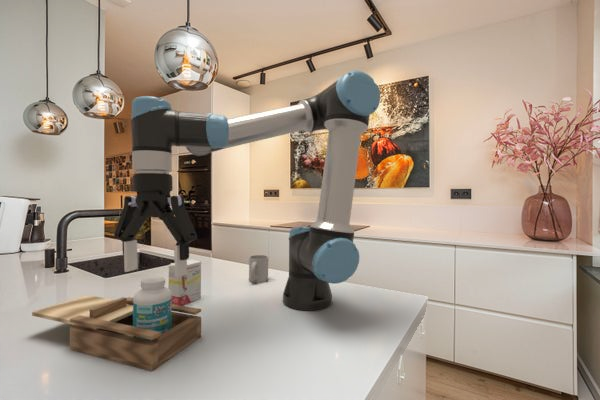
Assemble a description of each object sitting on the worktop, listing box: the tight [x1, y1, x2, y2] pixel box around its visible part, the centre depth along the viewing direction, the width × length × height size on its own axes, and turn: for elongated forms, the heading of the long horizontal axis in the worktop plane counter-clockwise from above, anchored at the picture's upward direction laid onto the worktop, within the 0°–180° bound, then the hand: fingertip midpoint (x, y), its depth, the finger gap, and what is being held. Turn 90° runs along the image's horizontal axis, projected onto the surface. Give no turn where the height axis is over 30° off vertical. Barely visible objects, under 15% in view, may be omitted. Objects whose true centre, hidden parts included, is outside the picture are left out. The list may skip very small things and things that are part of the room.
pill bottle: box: [132, 276, 173, 341], centre depth 63 cm, size 8×7×14 cm
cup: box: [248, 254, 269, 284], centre depth 110 cm, size 7×10×9 cm
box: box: [69, 296, 202, 372], centre depth 64 cm, size 22×14×6 cm, turn 71°
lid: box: [31, 294, 133, 330], centre depth 69 cm, size 20×12×3 cm, turn 71°
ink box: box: [167, 259, 202, 306], centre depth 90 cm, size 9×5×12 cm, turn 151°
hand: (155, 272), depth 63 cm, fingers open, 13 cm apart
